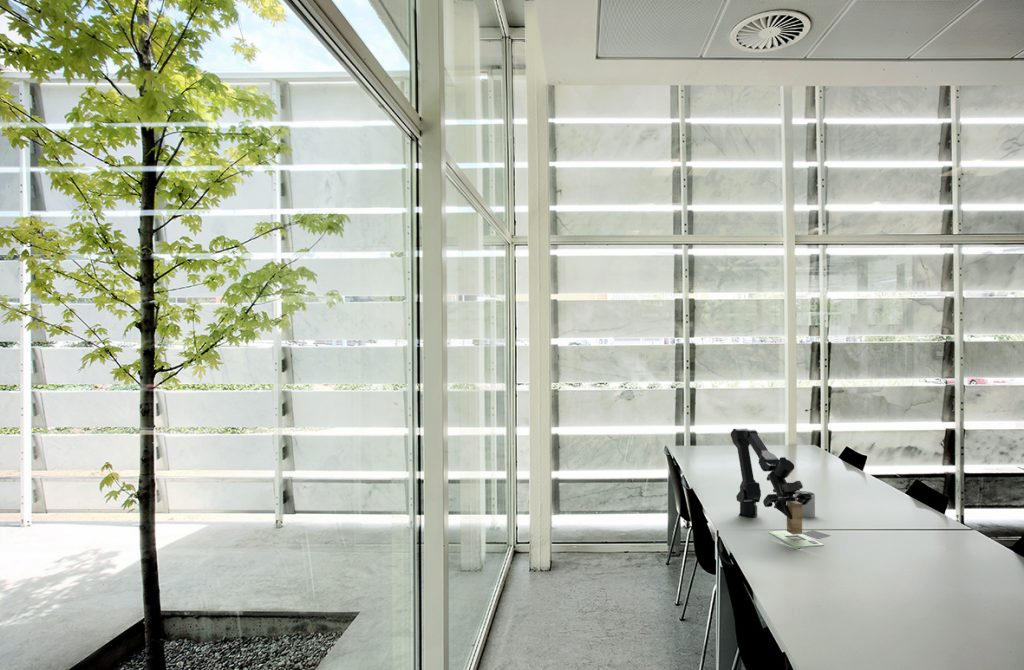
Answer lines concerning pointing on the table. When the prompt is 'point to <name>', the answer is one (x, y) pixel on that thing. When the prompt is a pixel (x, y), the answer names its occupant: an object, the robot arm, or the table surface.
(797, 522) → the post
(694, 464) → the table surface
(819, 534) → the pad
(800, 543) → the flange plate
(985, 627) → the table surface
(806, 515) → the cup
